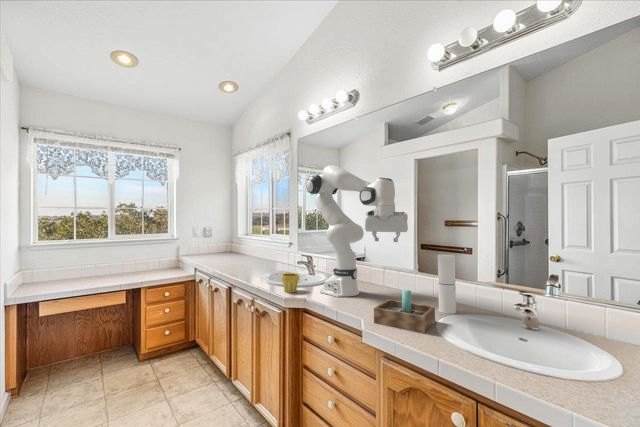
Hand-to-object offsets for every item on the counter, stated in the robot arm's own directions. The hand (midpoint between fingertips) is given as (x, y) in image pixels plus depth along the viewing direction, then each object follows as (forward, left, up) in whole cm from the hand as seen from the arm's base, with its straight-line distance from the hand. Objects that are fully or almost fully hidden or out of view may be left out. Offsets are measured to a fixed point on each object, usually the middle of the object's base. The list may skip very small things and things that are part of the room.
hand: (386, 241), depth 140 cm
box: (+13, -13, -31) cm, 36 cm away
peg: (+13, -10, -31) cm, 35 cm away
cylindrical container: (+24, +11, -31) cm, 41 cm away
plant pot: (-60, +1, -31) cm, 68 cm away
